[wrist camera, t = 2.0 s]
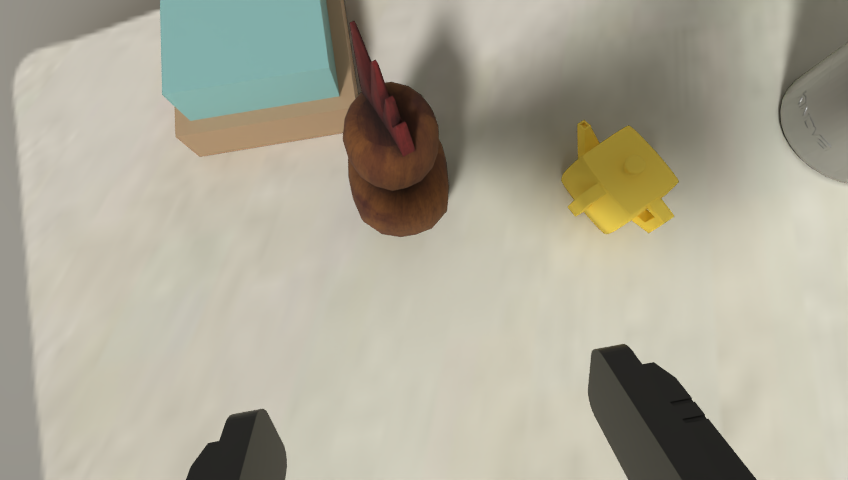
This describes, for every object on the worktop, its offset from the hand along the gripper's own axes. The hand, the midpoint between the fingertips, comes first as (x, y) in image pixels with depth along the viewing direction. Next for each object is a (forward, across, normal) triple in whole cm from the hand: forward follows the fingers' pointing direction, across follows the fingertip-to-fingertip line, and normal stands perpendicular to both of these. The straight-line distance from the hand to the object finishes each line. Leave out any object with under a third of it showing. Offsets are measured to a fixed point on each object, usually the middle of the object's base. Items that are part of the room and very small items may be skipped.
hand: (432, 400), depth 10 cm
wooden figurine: (+20, 0, +4) cm, 21 cm away
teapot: (+19, -13, +6) cm, 23 cm away
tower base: (+28, +8, -4) cm, 30 cm away
